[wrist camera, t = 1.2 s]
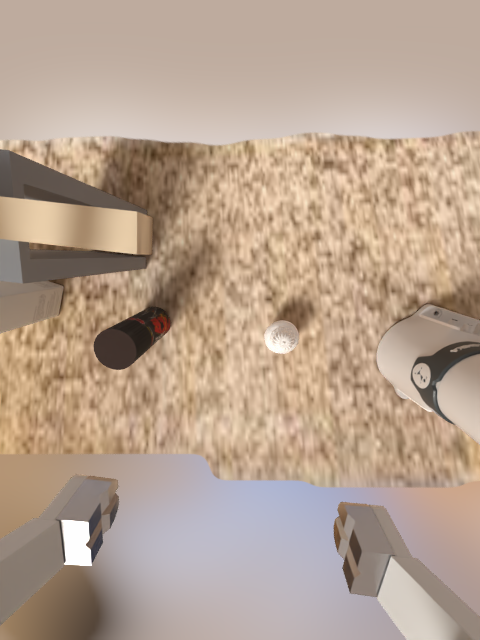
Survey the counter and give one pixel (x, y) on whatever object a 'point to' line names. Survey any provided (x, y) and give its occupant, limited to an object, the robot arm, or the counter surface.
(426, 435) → the counter surface
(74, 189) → the riser
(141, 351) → the deodorant
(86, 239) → the mallet
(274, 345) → the white rounded piece
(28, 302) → the skincare box
